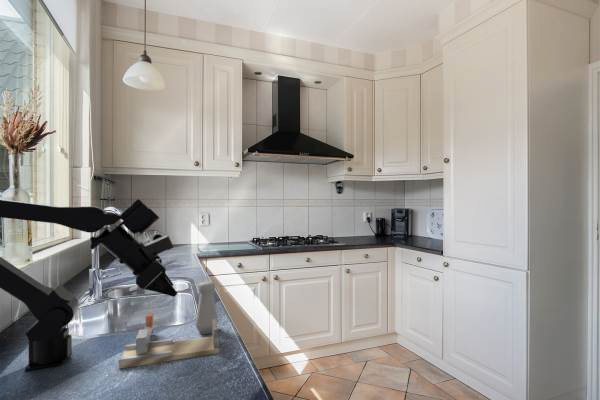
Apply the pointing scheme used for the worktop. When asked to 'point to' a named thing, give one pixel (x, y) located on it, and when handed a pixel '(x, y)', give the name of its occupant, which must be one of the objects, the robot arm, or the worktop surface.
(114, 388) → the worktop surface
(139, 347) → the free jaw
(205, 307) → the salt shaker
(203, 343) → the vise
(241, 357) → the worktop surface
